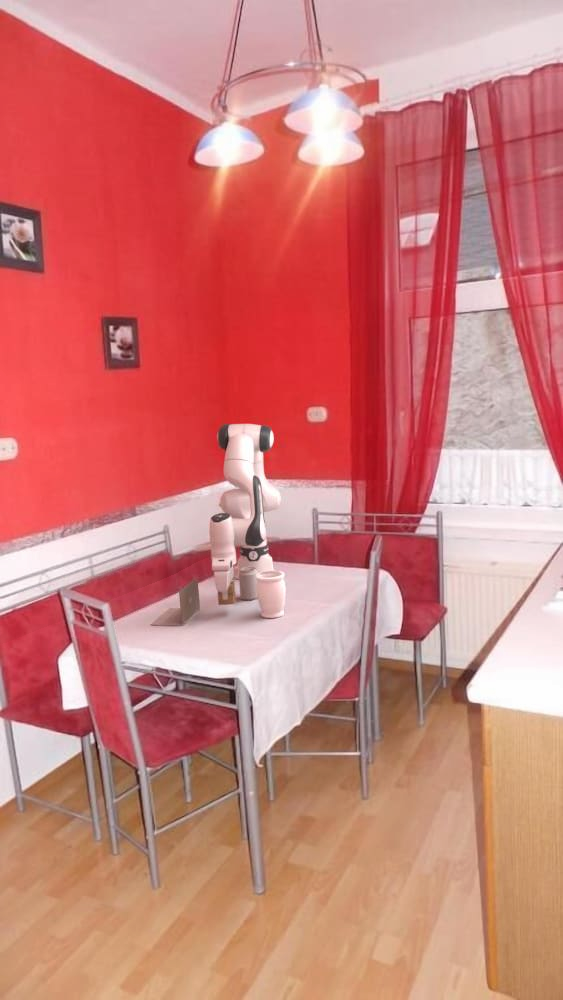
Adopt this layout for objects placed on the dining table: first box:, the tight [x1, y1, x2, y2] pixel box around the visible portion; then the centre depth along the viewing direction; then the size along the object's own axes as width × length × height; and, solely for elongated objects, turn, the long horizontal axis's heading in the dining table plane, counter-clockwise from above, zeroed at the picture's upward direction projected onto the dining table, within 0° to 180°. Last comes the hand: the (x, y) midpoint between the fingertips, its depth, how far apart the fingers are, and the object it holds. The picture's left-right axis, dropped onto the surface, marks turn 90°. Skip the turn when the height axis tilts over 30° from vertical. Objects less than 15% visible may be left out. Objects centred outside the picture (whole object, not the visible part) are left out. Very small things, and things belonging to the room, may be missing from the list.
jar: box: [256, 570, 287, 619], centre depth 256 cm, size 11×10×15 cm
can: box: [238, 567, 258, 601], centre depth 277 cm, size 8×8×12 cm
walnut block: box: [217, 580, 237, 606], centre depth 259 cm, size 6×6×7 cm
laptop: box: [150, 577, 201, 627], centre depth 260 cm, size 18×12×13 cm
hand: (226, 595), depth 259 cm, fingers closed on walnut block, 5 cm apart
